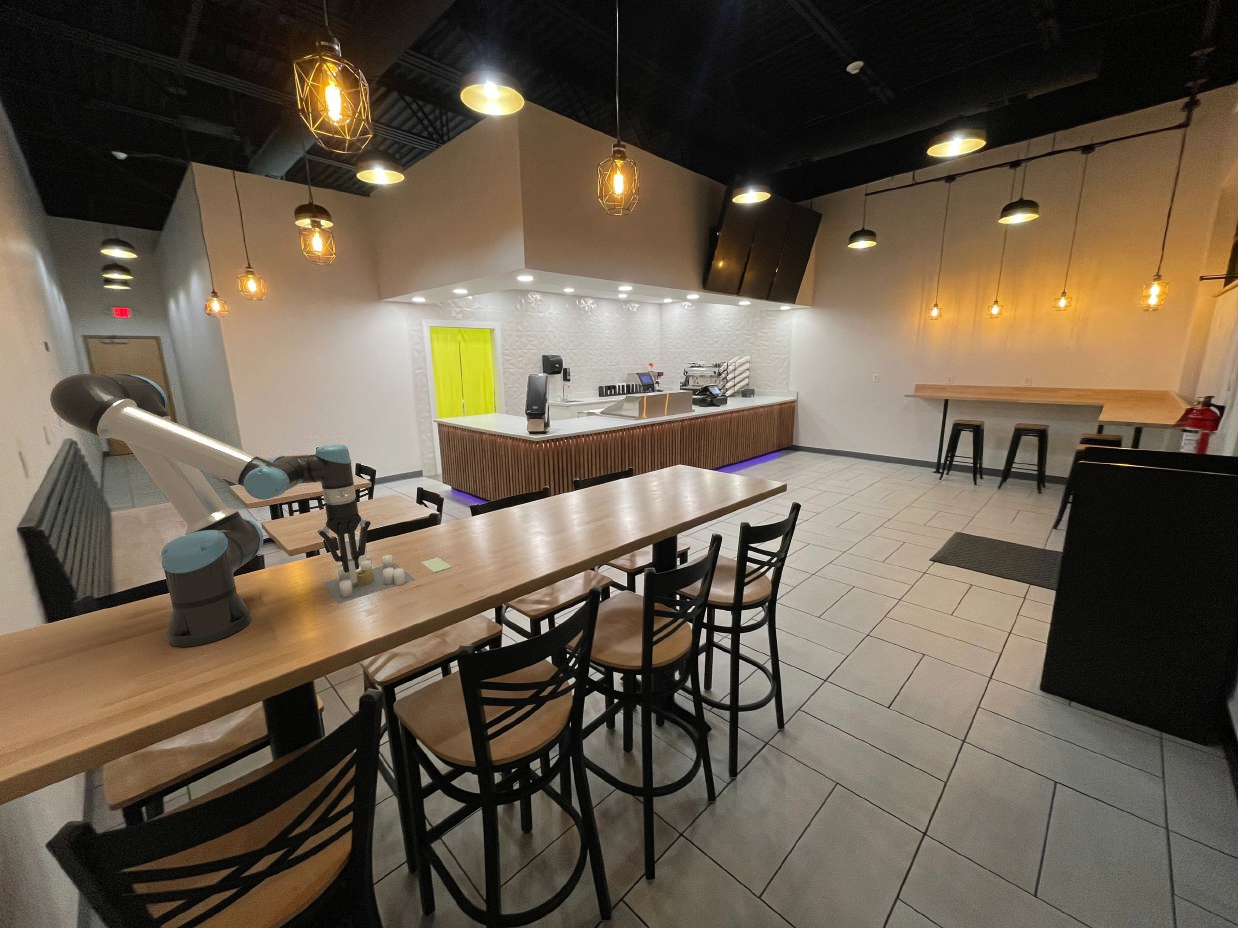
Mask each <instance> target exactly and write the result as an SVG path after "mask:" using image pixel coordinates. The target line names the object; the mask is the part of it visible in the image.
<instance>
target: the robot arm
mask: <svg viewBox="0 0 1238 928" xmlns="http://www.w3.org/2000/svg"><path fill="white" fill-rule="evenodd" d="M49 401H50V406H51V408H52V409H53V411H54V413H55V414H56V415H57V416H58V417H59V418H60V419H61V420H63V421H64V422H66V423H67V424H69V425H72V426H74V427H75V428H78V429H80V430H82V431H85V432H88V433H90V434H93V435H94V436H98V437H100V438H102V439H113V440H114V439H115V440H118V441H122V442H124V443H125V444H126V446H127V447H128V448H129V449H130V451H131V452H132V453H133V455H134V456H135V457H136V459H137V460H138V462H140V464H141V465H142V466H143V468H144V470H145V471H146V472H147V473H148V475H149V476H150V477H151V478H152V480H153V482H154V483H155V484H156V485H157V487H158V488H159V489H160V491H161V492H162V494H164V496H165V497H166V498H167V500H168V502H170V504H171V505H172V506H173V508H174V509H175V510H176V512H177V513H178V514H179V516H180V517H181V519H182V520H183V521H184V522H185V524H186V526H187V528H186V531H185V533H184V535H181V536H178V537H176V538H174V539H172V540H170V541H168V543H166V544H165V545H164V546H163V548H162V549H161V553H160V554H161V555H160V556H161V567H162V568H163V571H164V576H165V579H166V585H167V589H168V593H169V598H170V600H171V606H172V611H171V612H172V613H171V617H170V622H169V627H168V629H167V636H168V641H169V644H170V645H171V646H173V647H176V648H177V647H180V648H187V647H189V648H190V647H195V646H201V645H206V644H208V643H209V644H210V643H213V642H216V641H220V640H222V639H225V638H227V637H229V636H232V635H234V634H236V633H237V632H239V631H241V630H243V629H244V628H245V627H247V626H248V625H249V624H250V623H251V621H252V616H251V611H250V609H249V607H248V605H247V604H246V603H245V601H244V600H243V599H242V597H241V596H240V595H239V593H238V591H237V586H236V582H235V576H234V573H235V572H236V571H237V570H238V569H240V568H241V567H243V566H244V565H245V564H247V563H249V562H251V561H252V559H254V558H255V557H256V555H257V554H258V553H259V552H260V551H261V549H262V548H263V545H264V535H263V534H264V533H263V531H262V529H261V527H260V526H259V525H258V524H257V523H256V522H254V521H253V520H251V519H250V520H249V519H248V518H243V516H242V515H241V514H240V512H239V511H238V510H237V509H233V508H228V507H227V506H226V505H225V504H224V502H223V501H222V499H221V498H220V497H219V495H218V494H217V492H216V491H215V490H214V488H213V487H212V485H210V482H209V481H208V480H207V479H206V478H205V477H206V476H204V474H203V473H202V472H205V473H207V474H211V475H213V476H216V477H218V478H220V479H224V480H226V481H228V482H231V483H234V484H236V485H238V486H241V487H244V489H245V491H246V493H247V494H248V495H250V497H253V498H255V499H258V500H263V501H265V500H270V499H273V498H276V497H279V496H281V495H282V494H285V492H286V491H288V490H290V489H292V488H294V487H296V486H298V485H301V484H312V483H320V484H321V488H322V494H323V501H324V502H325V503H326V504H325V505H324V508H325V512H326V523H325V525H324V527H323V528H322V529H318V530H317V534H318V535H319V536H320V537H321V538H323V540H324V542H325V544H326V547H327V548H328V550H329V552H330V554H331V556H332V558H333V560H334V561H335V563H341V564H342V566H343V570H344V572H345V573H347V572H348V576H349V579H350V580H351V583H356V582H357V576H356V572H357V570H358V571H359V570H360V565H359V562H358V559H359V557H360V556H362V555H364V554H365V547H366V546H367V539H368V530H369V528H370V526H371V524H372V523H371V521H370V520H368V519H363V518H362V517H361V515H360V514H359V510H358V509H359V507H358V501H357V500H356V497H357V494H356V488H355V482H354V477H353V468H352V459H351V456H350V451H349V448H348V447H347V446H346V445H345V444H330V445H329V444H328V445H322V446H319V447H317V448H316V449H315V453H314V454H307V455H306V454H304V455H287V456H285V455H280V456H276V457H269V458H268V459H265V458H262V457H259V456H257V455H255V454H253V453H250V452H247V451H246V450H242V449H240V448H237V447H236V446H233V445H230V444H227V443H226V442H224V441H221V440H219V439H215V438H213V437H211V436H208V435H206V434H203V433H201V432H198V431H197V430H194V429H192V428H189V427H187V426H185V425H181V424H179V423H178V422H174V421H172V418H171V416H170V415H169V412H167V405H168V398H167V394H166V393H165V392H164V390H163V389H162V388H161V387H160V385H158V384H157V383H156V382H154V381H153V380H151V379H150V378H147V377H144V376H141V375H136V374H130V373H111V374H110V373H109V374H108V373H103V374H102V373H100V374H99V373H79V374H74V375H73V374H72V375H70V376H67V377H65V378H64V379H61V380H59V382H57V383H56V384H55V386H54V387H53V388H52V390H51V393H50V398H49ZM201 471H202V472H201ZM359 526H360V530H359V532H360V538H359V546H358V551H357V546H356V540H355V532H356V530H357V528H358V527H359ZM330 531H332V532H333V533H334V534H335V535H336V537H337V538H338V541H337V544H338V543H339V546H338V550H339V549H340V551H339V553H340V555H339V553H338V552H337V549H336V547H335V545H334V543H333V541H332V539H331V538H330V536H329V535H330ZM345 534H348V539H349V545H350V551H351V556H352V558H349V559H348V557H347V550H346V544H345ZM342 566H341V567H342Z"/></svg>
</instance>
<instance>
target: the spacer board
mask: <svg viewBox="0 0 1238 928" xmlns="http://www.w3.org/2000/svg"><path fill="white" fill-rule="evenodd" d="M381 560H382V561H381V562H382V566H378V567H375V568H372V567H373V566H372V561H371V559H369V560H368V559H367V560H365V561H362V562H361V563H360V564H361V565H360V568H361V569H360V570H366V569H371V570H372V571H373V574H374V582H372V583H370V584H368V585H363V586H357V585H356V583H351V580H350V579H349V576H348V572H347V573H345V572H344V570H343V566H340V567H337V574H338V575H337V576H338V577H337V578H334V579H330V580H327V581H324V582H322V584H323V585H324V586H325V588H326V589H327V590H328V592H329V593H330V595H331V597H333V599H334V600H335V602H336V603H337V604H340V603H341V604H342V603H344V602H348V601H351V600H355V599H358V598H361V597H364V596H368V595H370V594H374V593H376V592H381V591H384V590H386V589H390V588H393V587H397V586H401V585H404V584H407V583H410V582H413V581H416V578H414V577H413V576H412V575H411V574H410V573H408V572H407V571H405V569H404V568H403V567H401V566H400V565H399V564H397V563H396V562H394V560H393V555H392V554H385V555H383V556H381Z"/></svg>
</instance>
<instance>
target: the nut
mask: <svg viewBox="0 0 1238 928" xmlns="http://www.w3.org/2000/svg"><path fill="white" fill-rule="evenodd" d="M356 576H357V582H356V585H357V586H363V585H368V584H370V583H372V582H374V574H373V571H372V570H371V569H366V570H361V569H359V570H358V571H356Z"/></svg>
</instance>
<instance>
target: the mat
mask: <svg viewBox="0 0 1238 928" xmlns="http://www.w3.org/2000/svg"><path fill="white" fill-rule="evenodd" d="M420 563H421V564H422V565H424V566H425V567H426V568H428V569H429V570H431V571H432V573H433V572H434V573H435V574H436V573H439V572H442V571H445V570H449V569H452V568H453V567H452V566H451V565H450V564H448V563H447V562H445V561H444V560H442V559H441V558H439V557H435V558H431V559H427V560H424V561H420Z"/></svg>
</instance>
